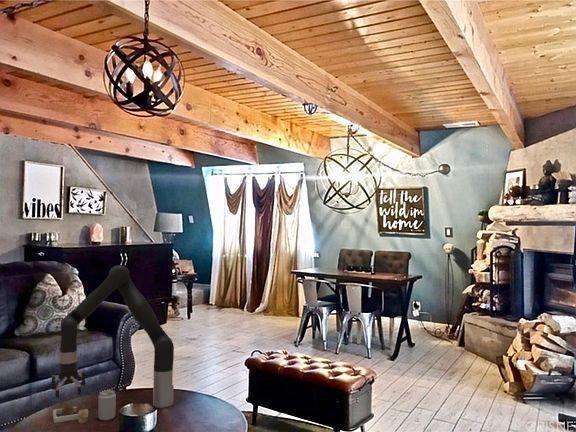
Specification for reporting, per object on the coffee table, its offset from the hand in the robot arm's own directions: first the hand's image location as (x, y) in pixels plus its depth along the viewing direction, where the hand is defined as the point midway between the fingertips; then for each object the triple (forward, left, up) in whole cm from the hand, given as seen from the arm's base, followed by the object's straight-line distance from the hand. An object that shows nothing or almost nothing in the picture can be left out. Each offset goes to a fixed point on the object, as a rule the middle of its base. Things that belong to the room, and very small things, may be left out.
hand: (68, 396), depth 224 cm
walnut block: (0, 0, -9) cm, 9 cm away
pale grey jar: (-16, +10, -10) cm, 21 cm away
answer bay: (0, 0, -9) cm, 9 cm away
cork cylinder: (-6, +10, -9) cm, 15 cm away
